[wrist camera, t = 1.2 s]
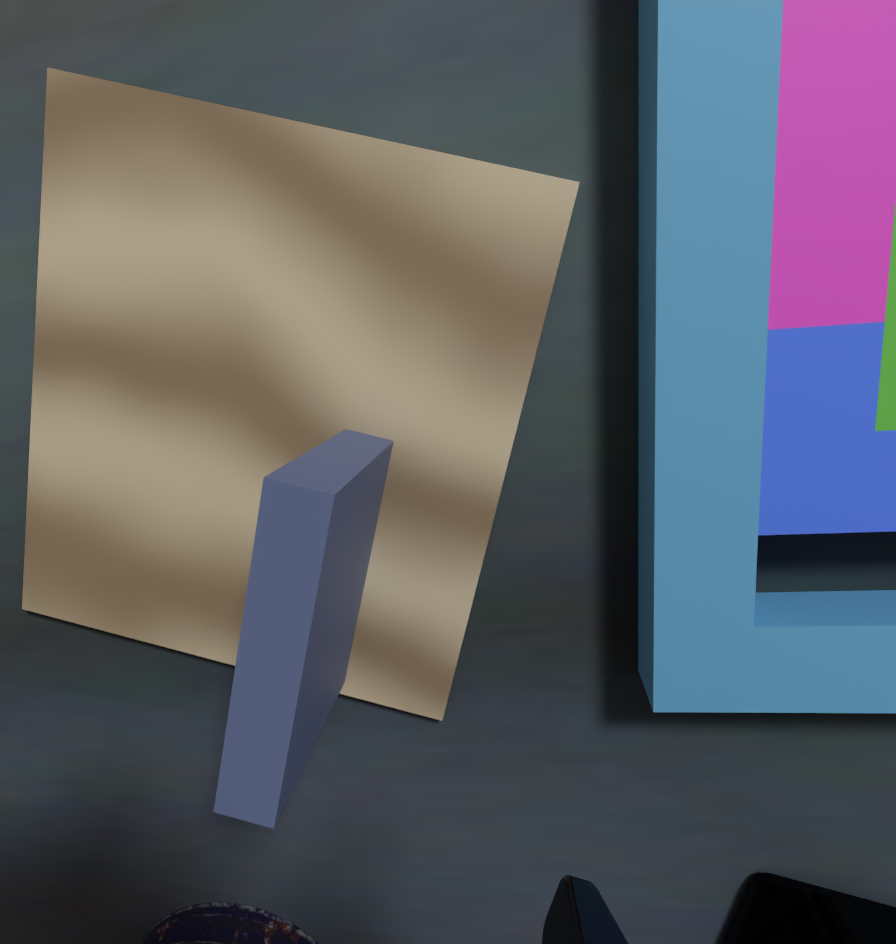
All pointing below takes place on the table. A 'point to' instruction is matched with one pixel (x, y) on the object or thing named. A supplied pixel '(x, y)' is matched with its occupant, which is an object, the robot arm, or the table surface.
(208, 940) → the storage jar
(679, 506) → the tetris game
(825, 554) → the table surface
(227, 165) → the wooden mat
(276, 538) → the card deck
